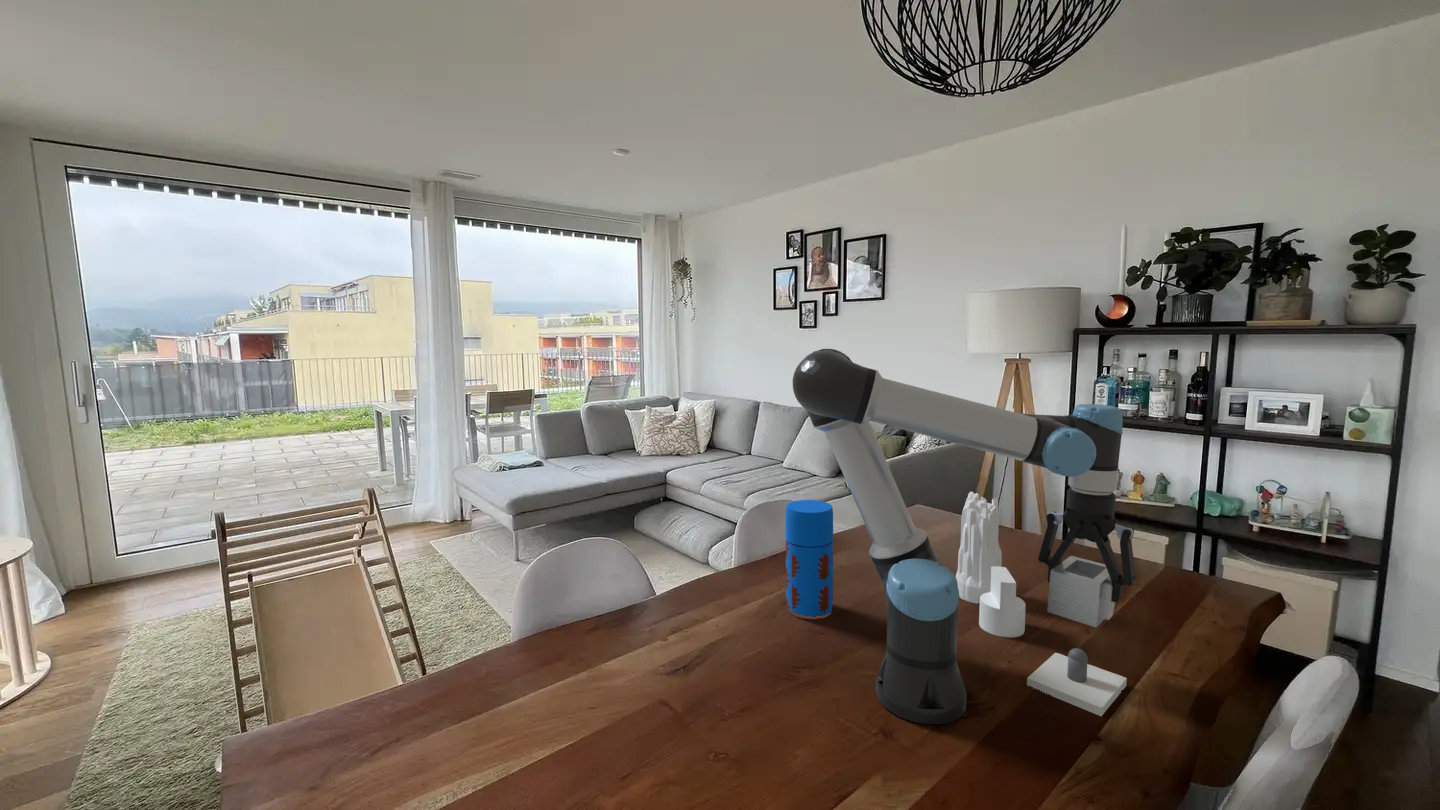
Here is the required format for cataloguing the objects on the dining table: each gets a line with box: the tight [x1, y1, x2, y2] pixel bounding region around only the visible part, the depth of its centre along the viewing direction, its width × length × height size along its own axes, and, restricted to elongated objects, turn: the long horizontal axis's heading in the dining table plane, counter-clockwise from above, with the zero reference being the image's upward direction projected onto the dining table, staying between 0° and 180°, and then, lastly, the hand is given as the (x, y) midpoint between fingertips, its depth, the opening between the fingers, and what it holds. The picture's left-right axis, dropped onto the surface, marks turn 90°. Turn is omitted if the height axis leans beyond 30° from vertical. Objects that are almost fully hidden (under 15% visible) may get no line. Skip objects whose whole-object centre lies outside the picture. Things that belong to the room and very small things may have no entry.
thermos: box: [785, 499, 834, 617], centre depth 140 cm, size 11×11×25 cm
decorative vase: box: [955, 491, 1003, 605], centre depth 146 cm, size 11×11×25 cm
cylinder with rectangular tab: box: [978, 566, 1026, 638], centre depth 131 cm, size 9×9×12 cm
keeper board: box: [1026, 647, 1128, 717], centre depth 109 cm, size 13×12×7 cm
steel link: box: [1046, 555, 1116, 628], centre depth 112 cm, size 11×8×8 cm
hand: (1081, 608), depth 112 cm, fingers closed on steel link, 8 cm apart
